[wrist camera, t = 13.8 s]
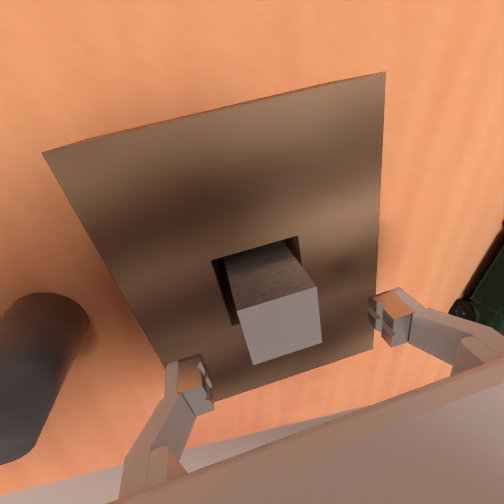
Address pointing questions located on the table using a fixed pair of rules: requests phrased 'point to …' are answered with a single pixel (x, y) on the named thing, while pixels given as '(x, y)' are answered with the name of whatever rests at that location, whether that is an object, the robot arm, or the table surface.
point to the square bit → (273, 301)
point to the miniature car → (486, 298)
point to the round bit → (34, 365)
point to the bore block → (238, 218)
